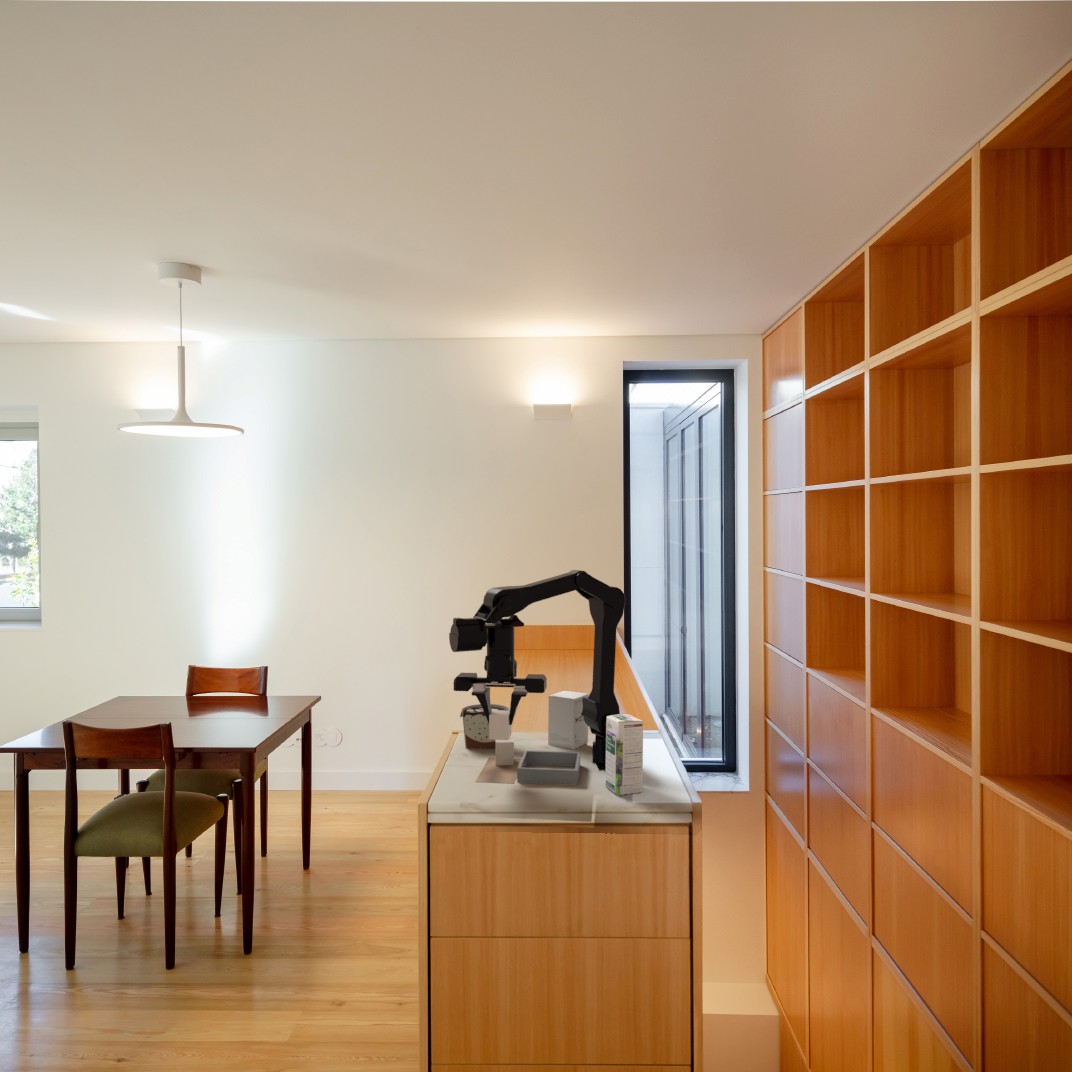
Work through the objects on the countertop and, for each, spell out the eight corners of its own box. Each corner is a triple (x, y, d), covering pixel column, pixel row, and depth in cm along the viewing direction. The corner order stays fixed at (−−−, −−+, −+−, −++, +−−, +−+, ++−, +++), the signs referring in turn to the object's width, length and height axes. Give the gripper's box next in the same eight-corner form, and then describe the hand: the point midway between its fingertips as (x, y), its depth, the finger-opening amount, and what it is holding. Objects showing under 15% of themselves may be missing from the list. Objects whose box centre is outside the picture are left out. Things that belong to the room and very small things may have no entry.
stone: (511, 734, 149) (511, 710, 149) (508, 740, 145) (508, 715, 145) (492, 733, 150) (492, 710, 150) (489, 739, 146) (489, 714, 146)
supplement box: (573, 752, 167) (574, 699, 167) (547, 747, 171) (547, 694, 171) (589, 745, 173) (589, 693, 173) (562, 740, 177) (563, 689, 177)
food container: (515, 745, 173) (515, 704, 173) (511, 753, 167) (511, 710, 166) (464, 743, 174) (465, 702, 174) (459, 751, 168) (459, 708, 168)
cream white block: (513, 759, 159) (513, 737, 159) (513, 765, 155) (514, 742, 155) (495, 759, 159) (495, 737, 159) (495, 765, 155) (495, 742, 155)
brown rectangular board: (524, 762, 160) (524, 758, 160) (514, 787, 144) (514, 783, 144) (489, 761, 161) (489, 757, 161) (475, 785, 145) (475, 781, 145)
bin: (580, 768, 155) (580, 752, 155) (577, 788, 143) (577, 770, 143) (524, 766, 157) (524, 750, 157) (517, 786, 145) (517, 768, 145)
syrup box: (604, 787, 144) (604, 715, 144) (629, 783, 147) (630, 712, 147) (617, 796, 139) (618, 722, 139) (644, 792, 141) (644, 719, 141)
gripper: (549, 643, 154) (549, 715, 154) (464, 642, 156) (464, 713, 156) (544, 652, 143) (543, 729, 143) (452, 650, 145) (452, 726, 145)
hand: (500, 724), depth 147 cm, fingers closed on stone, 4 cm apart
